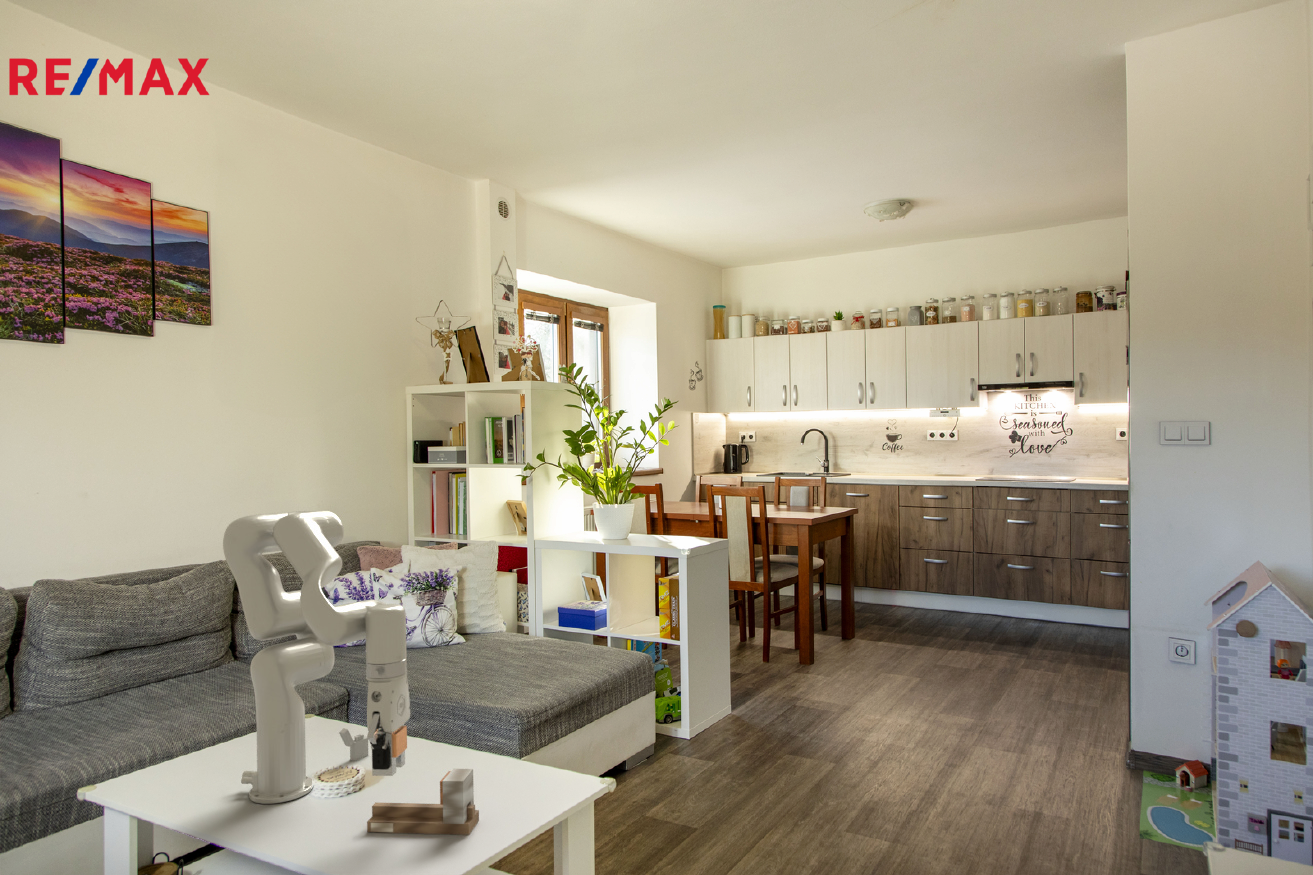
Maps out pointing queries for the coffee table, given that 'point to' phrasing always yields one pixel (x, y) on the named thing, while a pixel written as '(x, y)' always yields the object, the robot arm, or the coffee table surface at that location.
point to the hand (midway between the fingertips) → (388, 761)
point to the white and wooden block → (394, 751)
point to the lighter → (355, 744)
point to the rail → (432, 810)
